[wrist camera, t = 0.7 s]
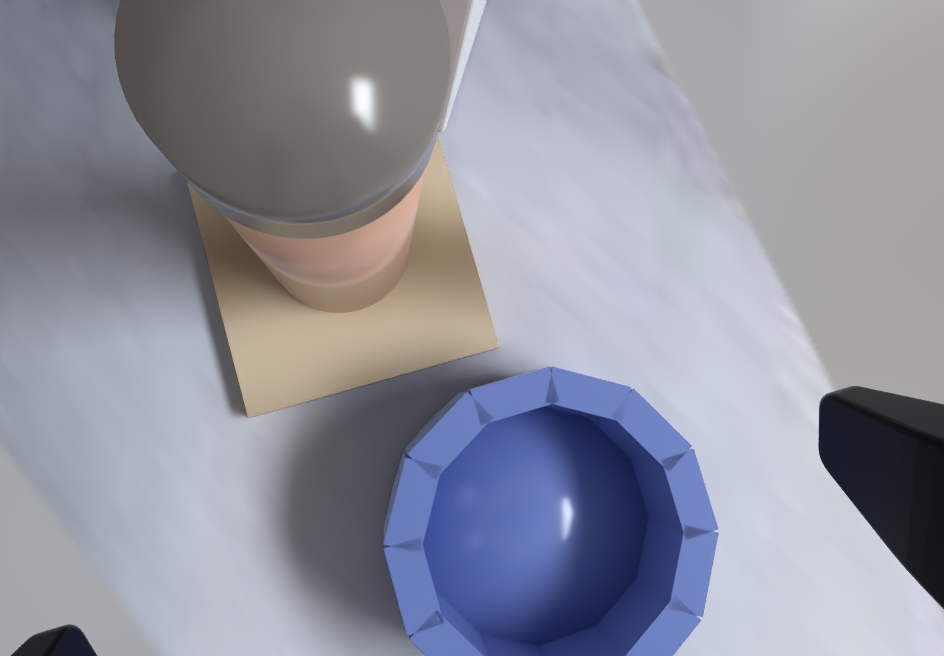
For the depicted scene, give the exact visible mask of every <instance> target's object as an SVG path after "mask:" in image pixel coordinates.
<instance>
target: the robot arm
mask: <svg viewBox="0 0 944 656" xmlns="http://www.w3.org/2000/svg"><path fill="white" fill-rule="evenodd" d="M819 454H820V458H821V460H822V463H823V464H824V466H825V468H826V469H827V471H828V472H829V473H830V475H831V476H832V477H833V478H834V480H835V481H836V482H837V483H838V485H839V486H840V487H841V489H842V490H843V491H844V492H845V494H846V495H847V496H848V497H849V499H850V500H851V501H852V502H853V504H854V505H855V506H856V508H857V509H858V510H859V511H860V513H861V514H862V515H863V516H864V518H865V519H866V520H867V521H868V523H869V524H870V525H871V527H872V528H873V529H874V530H875V532H876V533H877V534H878V535H879V537H880V538H881V539H882V540H883V542H884V543H885V544H886V546H887V547H888V548H889V549H890V551H891V552H892V553H893V554H894V555H895V557H896V558H897V559H898V560H899V561H900V563H901V564H902V565H903V566H904V567H905V568H906V570H907V571H908V572H909V573H910V574H911V575H912V576H913V577H914V578H915V579H916V581H917V582H918V583H919V584H920V585H921V586H922V587H923V588H924V589H925V590H926V591H927V592H928V593H929V594H930V595H931V596H932V597H933V599H934V600H935V601H936V602H937V603H938V604H939V605H940V606H941V607H942V608H943V609H944V404H939V403H935V402H930V401H925V400H921V399H916V398H911V397H907V396H902V395H897V394H892V393H888V392H883V391H878V390H873V389H869V388H864V387H859V386H851V387H847V388H844V389H841V390H837V391H834V392H831V393H828V394H826V395H825V396H823V398H822V399H821V401H820V405H819ZM11 656H97V655H96V653H95V651H94V650H93V648H92V646H91V645H90V643H89V642H88V640H87V638H86V637H85V635H84V633H83V632H82V631H81V629H80V628H78V627H77V626H74V625H64V626H61V627H57V628H54V629H51V630H47V631H44V632H41V633H38V634H35V635H33V636H32V637H30V638H29V639H28V640H27V641H26V642H25V643H24V644H22V645H21V647H19V648H18V650H16V651H15V652H14V653H13V654H12V655H11Z"/></svg>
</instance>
